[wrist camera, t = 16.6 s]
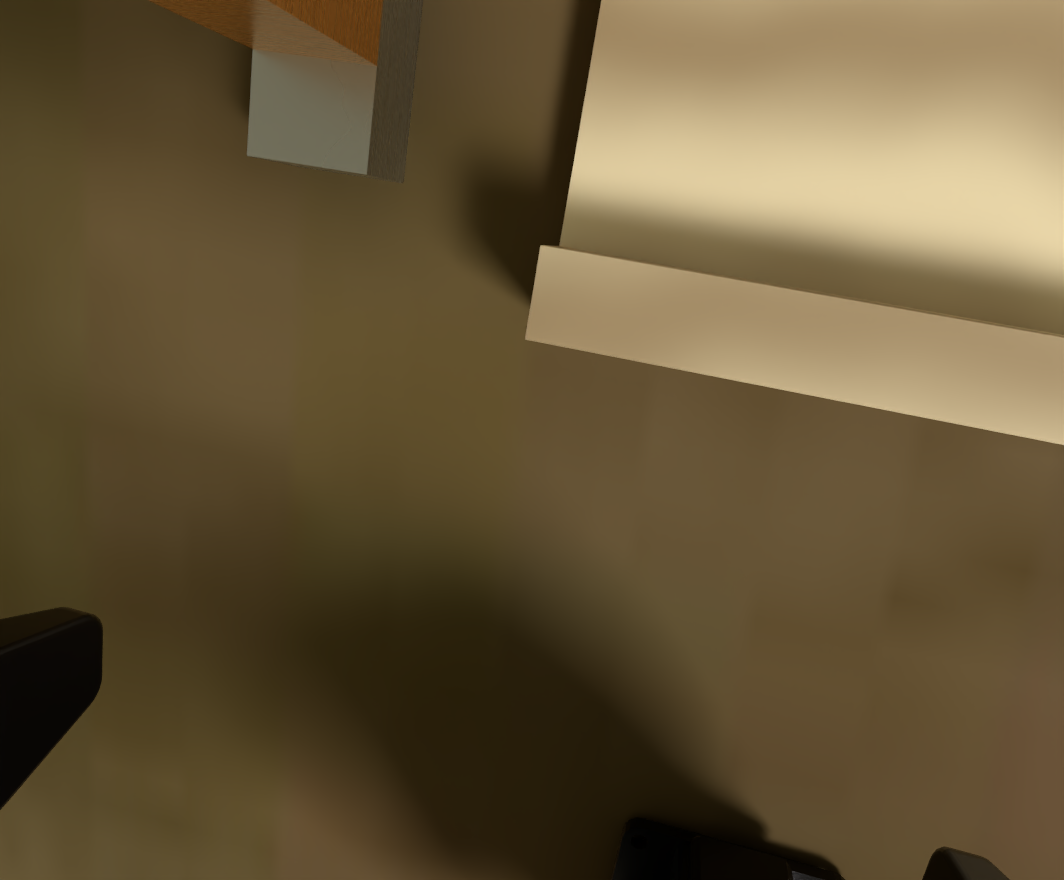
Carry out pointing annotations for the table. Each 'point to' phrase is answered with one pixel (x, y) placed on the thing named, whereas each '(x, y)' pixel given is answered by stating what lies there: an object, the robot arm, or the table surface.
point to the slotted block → (825, 203)
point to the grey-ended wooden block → (324, 78)
